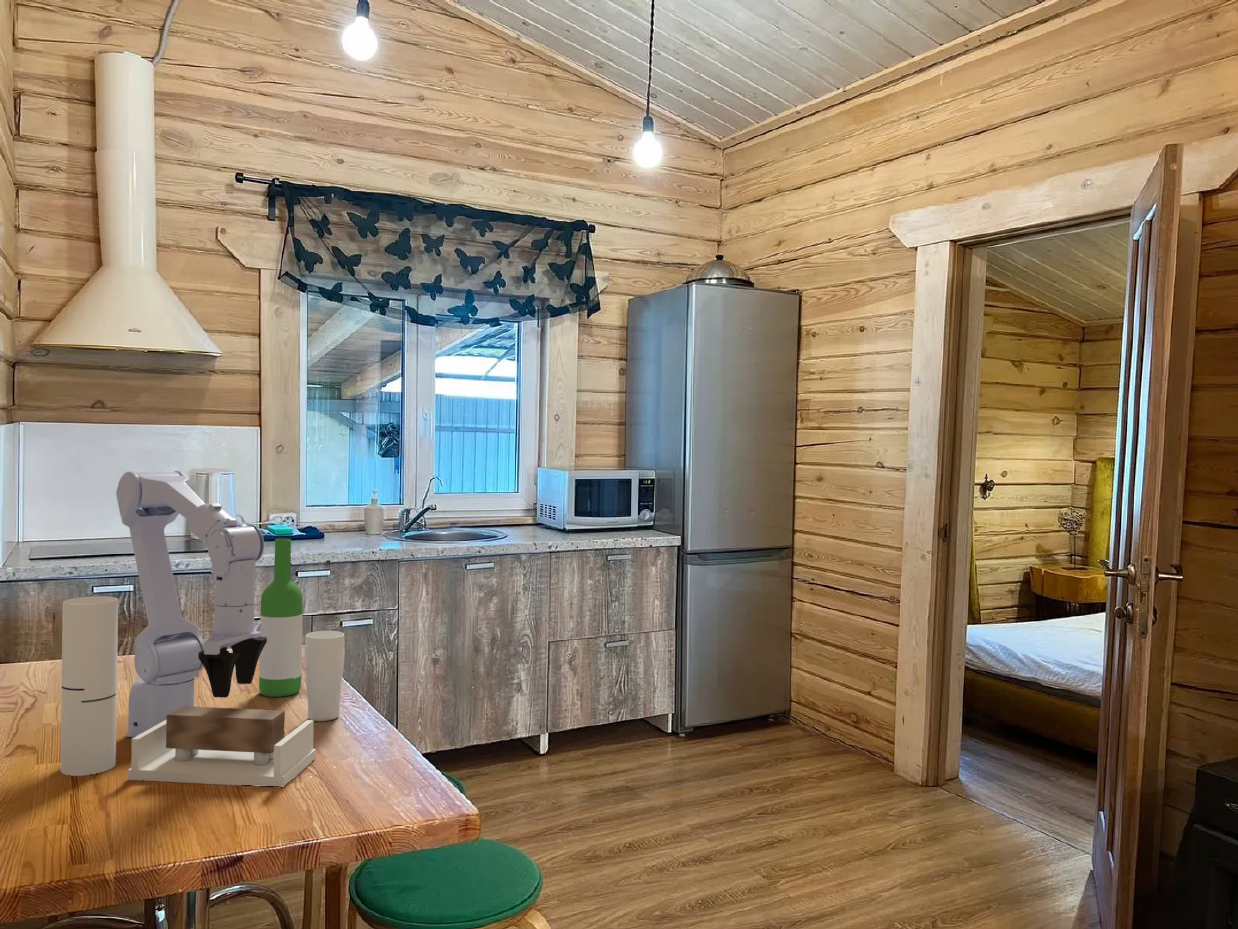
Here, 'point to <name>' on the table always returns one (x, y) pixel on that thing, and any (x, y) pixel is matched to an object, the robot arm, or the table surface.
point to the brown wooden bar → (224, 729)
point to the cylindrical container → (89, 685)
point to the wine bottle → (281, 629)
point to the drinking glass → (324, 673)
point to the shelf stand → (220, 760)
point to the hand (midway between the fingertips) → (233, 690)
